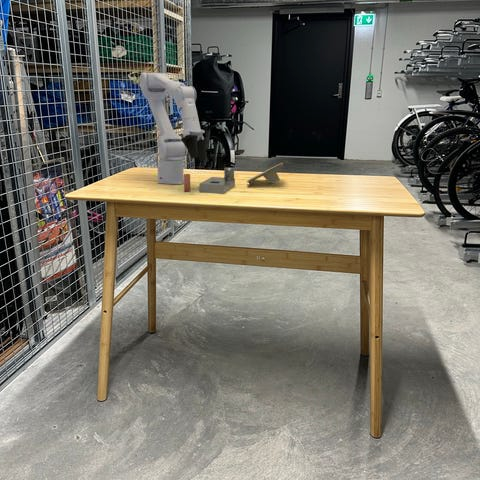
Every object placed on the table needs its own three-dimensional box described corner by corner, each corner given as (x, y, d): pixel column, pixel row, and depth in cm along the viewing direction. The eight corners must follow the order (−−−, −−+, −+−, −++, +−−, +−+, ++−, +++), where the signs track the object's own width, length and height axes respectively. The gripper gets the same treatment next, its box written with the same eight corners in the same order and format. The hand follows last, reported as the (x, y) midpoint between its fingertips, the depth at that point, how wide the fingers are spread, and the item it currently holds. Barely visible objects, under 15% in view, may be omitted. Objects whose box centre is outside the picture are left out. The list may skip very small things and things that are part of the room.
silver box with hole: (199, 192, 148) (198, 172, 145) (212, 184, 161) (211, 166, 158) (224, 193, 145) (224, 173, 143) (235, 186, 158) (235, 167, 156)
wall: (261, 199, 156) (292, 172, 154) (246, 181, 155) (277, 154, 153) (261, 196, 172) (289, 172, 170) (247, 180, 171) (275, 155, 169)
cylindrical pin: (183, 191, 148) (182, 174, 146) (185, 190, 150) (185, 173, 148) (189, 192, 148) (188, 175, 146) (191, 190, 150) (191, 174, 148)
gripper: (192, 112, 138) (201, 153, 138) (208, 121, 152) (216, 158, 152) (173, 118, 140) (182, 158, 140) (190, 127, 154) (198, 163, 154)
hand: (198, 159), depth 146 cm, fingers open, 7 cm apart
